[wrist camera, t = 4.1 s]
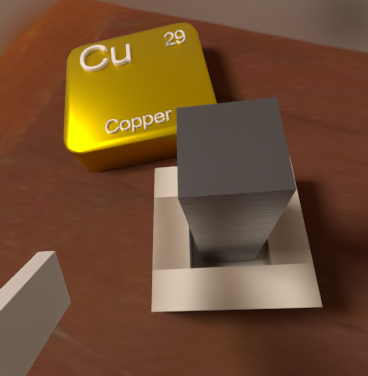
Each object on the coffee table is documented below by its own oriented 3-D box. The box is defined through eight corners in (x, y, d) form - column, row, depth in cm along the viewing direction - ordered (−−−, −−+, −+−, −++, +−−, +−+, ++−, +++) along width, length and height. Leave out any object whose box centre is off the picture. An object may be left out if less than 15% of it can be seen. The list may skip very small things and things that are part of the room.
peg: (247, 213, 23) (276, 97, 11) (253, 261, 22) (296, 189, 9) (201, 216, 24) (176, 107, 11) (203, 263, 22) (177, 198, 10)
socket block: (280, 178, 25) (289, 156, 22) (305, 307, 21) (322, 307, 17) (164, 187, 27) (155, 168, 23) (163, 311, 22) (151, 311, 18)
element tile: (83, 177, 29) (58, 154, 24) (83, 76, 35) (63, 43, 31) (222, 148, 28) (222, 119, 24) (197, 50, 34) (193, 13, 30)
